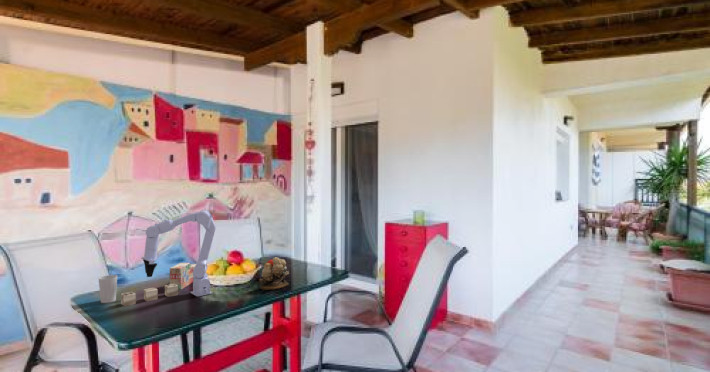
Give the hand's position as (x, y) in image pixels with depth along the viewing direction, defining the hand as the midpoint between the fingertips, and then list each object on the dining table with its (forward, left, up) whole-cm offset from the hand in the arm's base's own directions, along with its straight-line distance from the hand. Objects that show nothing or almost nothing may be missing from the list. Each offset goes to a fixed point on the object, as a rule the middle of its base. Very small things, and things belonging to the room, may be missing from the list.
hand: (148, 274), depth 192 cm
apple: (-12, -67, -12) cm, 69 cm away
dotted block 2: (-4, -10, -12) cm, 16 cm away
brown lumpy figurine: (-30, -57, -12) cm, 65 cm away
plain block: (-4, 0, -12) cm, 12 cm away
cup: (+8, +16, -12) cm, 22 cm away
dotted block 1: (-4, +10, -12) cm, 16 cm away
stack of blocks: (+11, -22, -12) cm, 28 cm away
